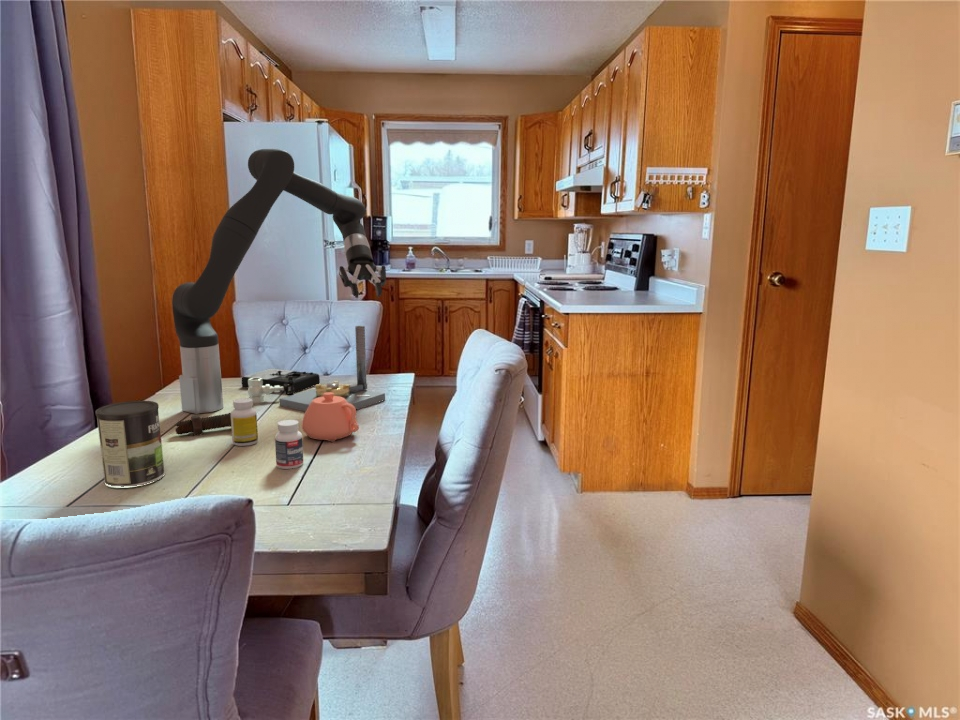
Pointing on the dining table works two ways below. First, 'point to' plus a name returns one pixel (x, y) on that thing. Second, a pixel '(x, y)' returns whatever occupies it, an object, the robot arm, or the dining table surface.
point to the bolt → (203, 424)
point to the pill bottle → (289, 445)
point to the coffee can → (130, 443)
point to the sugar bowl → (329, 418)
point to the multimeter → (284, 378)
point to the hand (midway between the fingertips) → (368, 295)
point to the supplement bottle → (244, 423)
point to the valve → (267, 389)
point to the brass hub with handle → (361, 384)
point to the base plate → (355, 397)
